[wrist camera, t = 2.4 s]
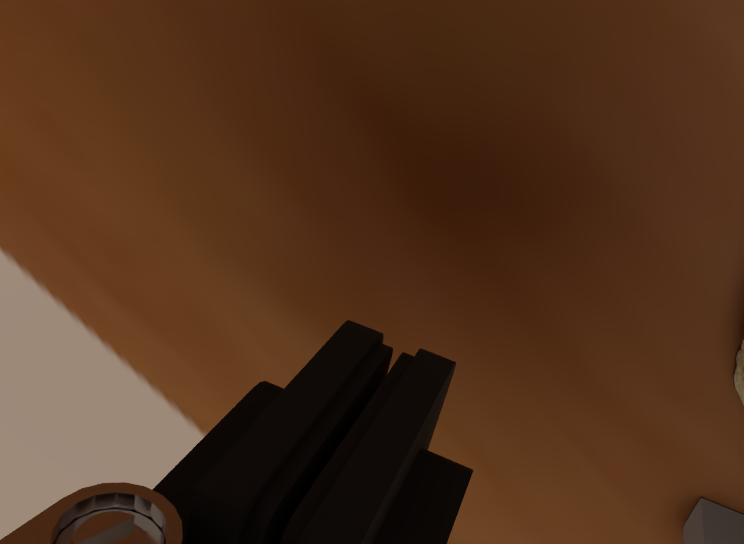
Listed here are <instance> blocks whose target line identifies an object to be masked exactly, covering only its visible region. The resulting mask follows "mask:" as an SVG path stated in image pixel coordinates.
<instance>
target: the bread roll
mask: <svg viewBox="0 0 744 544" xmlns="http://www.w3.org/2000/svg"><path fill="white" fill-rule="evenodd" d="M736 361H737V366H736V370H735V375H734V381H735V387H736V390H737V392H738V395H739V397H740V399H741V401H742V403H743V405H744V339H743V342H742V344H741V349H740V350H739V351H738V353H737V356H736Z"/></svg>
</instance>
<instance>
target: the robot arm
mask: <svg viewBox="0 0 744 544" xmlns="http://www.w3.org/2000/svg"><path fill="white" fill-rule="evenodd" d="M382 343H383V333H380V332H378V331H375V330H373V329H370V328H368V327H365V326H363V325H360V324H358V323H355V322H353V321H350V320H347V321H346V322H345V323H344V324H343V325H342V326H341V327H340V328H339V329H338V330H337V331H336V333H335V334H334V335H333V336H332V337H331V338H330V339H329V340H328V341H327V342H326V344H325V345H324V346H323V347H322V348H321V349H320V350H319V351H318V352H317V353H316V354H315V356H314V357H313V358H312V359H311V360H310V361H309V362H308V363H307V364H306V365H305V367H304V368H303V369H302V370H301V371H300V372H299V373H298V374H297V375H296V376H295V378H294V379H293V380H292V381H291V382H290V383H289V384H288V385H287V386H286V387H285V389H283V388H281V387H278V386H276V385H274V384H271V383H269V382H267V381H263V382H260V383H259V384H257V385H256V386H255V387H254V388H253V389H252V390H251V391H250V392H249V393H248V394H247V395H246V396H245V397H244V398H243V399H242V400H241V401H240V402H239V403H238V404H237V405H236V406H235V407H234V408H233V409H232V410H231V411H230V412H229V413H228V414H227V415H226V416H225V417H224V418H223V419H222V420H221V421H220V422H219V423H218V424H217V425H216V426H215V427H214V428H213V429H212V430H211V431H210V432H209V433H208V434H207V435H206V436H205V437H204V438H203V439H202V440H201V441H200V442H199V443H198V444H197V445H196V446H195V447H194V448H193V449H192V450H191V451H190V452H189V453H188V454H187V455H186V457H184V458H183V459H182V460H181V461H180V462H179V464H178V465H176V466H175V468H173V470H171V471H170V472H169V473H168V475H167V476H166V477H165V478H164V479H163V480H162V481H161V482H160V483H159V484H158V485H157V486H156V487H155V488H154V489H153V490H151V489H149V488H147V487H144V486H139V485H135V484H130V483H102V484H98V485H94V486H90V487H86V488H82V489H80V490H78V491H76V492H74V493H72V494H70V495H68V496H67V497H64V498H62V499H61V500H59V501H58V502H56V503H55V504H53V505H52V506H50V507H49V508H47V509H46V510H44V511H43V512H41V513H40V514H39V515H37V516H35V517H34V518H32V519H31V520H29V521H28V522H27V523H25V524H24V525H22V526H21V527H19V528H18V529H16V530H15V531H13V532H12V533H10V534H9V535H7V536H6V537H4V538H3V539H1V540H0V544H447V541H448V538H449V536H450V533H451V530H452V527H453V525H454V522H455V519H456V516H457V514H458V511H459V508H460V505H461V503H462V500H463V497H464V495H465V492H466V489H467V486H468V484H469V481H470V478H471V475H472V473H473V470H472V469H470V468H467V467H465V466H463V465H460V464H458V463H456V462H453V461H451V460H449V459H446V458H444V457H442V456H439V455H437V454H435V453H432V452H430V451H428V447H429V444H430V441H431V438H432V435H433V432H434V429H435V426H436V423H437V421H438V418H439V415H440V412H441V409H442V406H443V403H444V400H445V397H446V394H447V391H448V388H449V385H450V382H451V379H452V376H453V373H454V369H455V366H456V362H454V361H451V360H449V359H446V358H444V357H441V356H439V355H436V354H434V353H431V352H429V351H426V350H424V349H419V351H418V352H417V353H416V355H415V357H414V356H412V355H409V354H407V353H404V352H403V353H402V354H401V355H400V357H399V358H398V360H397V361H396V362H395V364H394V365H393V367H392V368H391V370H390V371H389V373H388V374H387V372H388V368H389V365H390V361H391V358H392V353H393V348H392V347H389V346H386V345H384V344H382ZM386 375H387V376H386Z"/></svg>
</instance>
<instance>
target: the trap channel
mask: <svg viewBox="0 0 744 544" xmlns="http://www.w3.org/2000/svg"><path fill="white" fill-rule="evenodd" d="M683 544H744V515H743V514H740V513H738V512H736V511H733V510H731V509H728V508H726V507H723V506H721V505H718V504H716V503H713V502H711V501H709V500H706V499H704V498H700V500H699V501H698V503H697V505H696V506H695V508H694V510H693V511H692V513H691V515H690V516H689V518H688V520H687V521H686V523H685V525H684V526H683Z"/></svg>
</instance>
